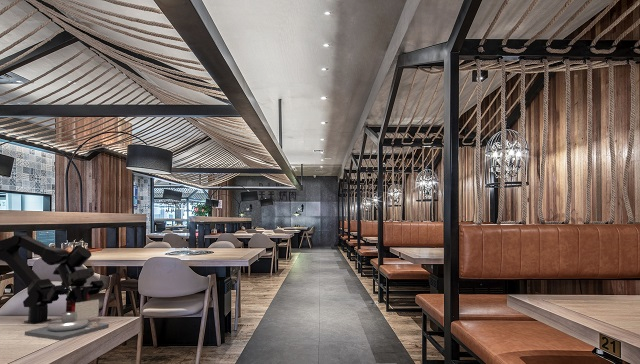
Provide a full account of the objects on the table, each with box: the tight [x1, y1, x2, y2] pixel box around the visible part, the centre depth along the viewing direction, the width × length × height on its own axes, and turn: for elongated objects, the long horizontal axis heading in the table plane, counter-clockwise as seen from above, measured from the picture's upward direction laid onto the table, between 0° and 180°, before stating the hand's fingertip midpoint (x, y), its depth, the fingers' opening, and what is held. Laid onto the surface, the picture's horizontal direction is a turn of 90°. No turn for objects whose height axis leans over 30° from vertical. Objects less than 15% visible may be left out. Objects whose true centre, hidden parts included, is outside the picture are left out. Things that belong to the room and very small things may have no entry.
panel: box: [24, 321, 110, 341], centre depth 147 cm, size 18×18×1 cm
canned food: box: [65, 294, 90, 312], centre depth 171 cm, size 8×8×11 cm
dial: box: [47, 298, 100, 331], centre depth 150 cm, size 16×12×8 cm
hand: (85, 307), depth 154 cm, fingers closed
